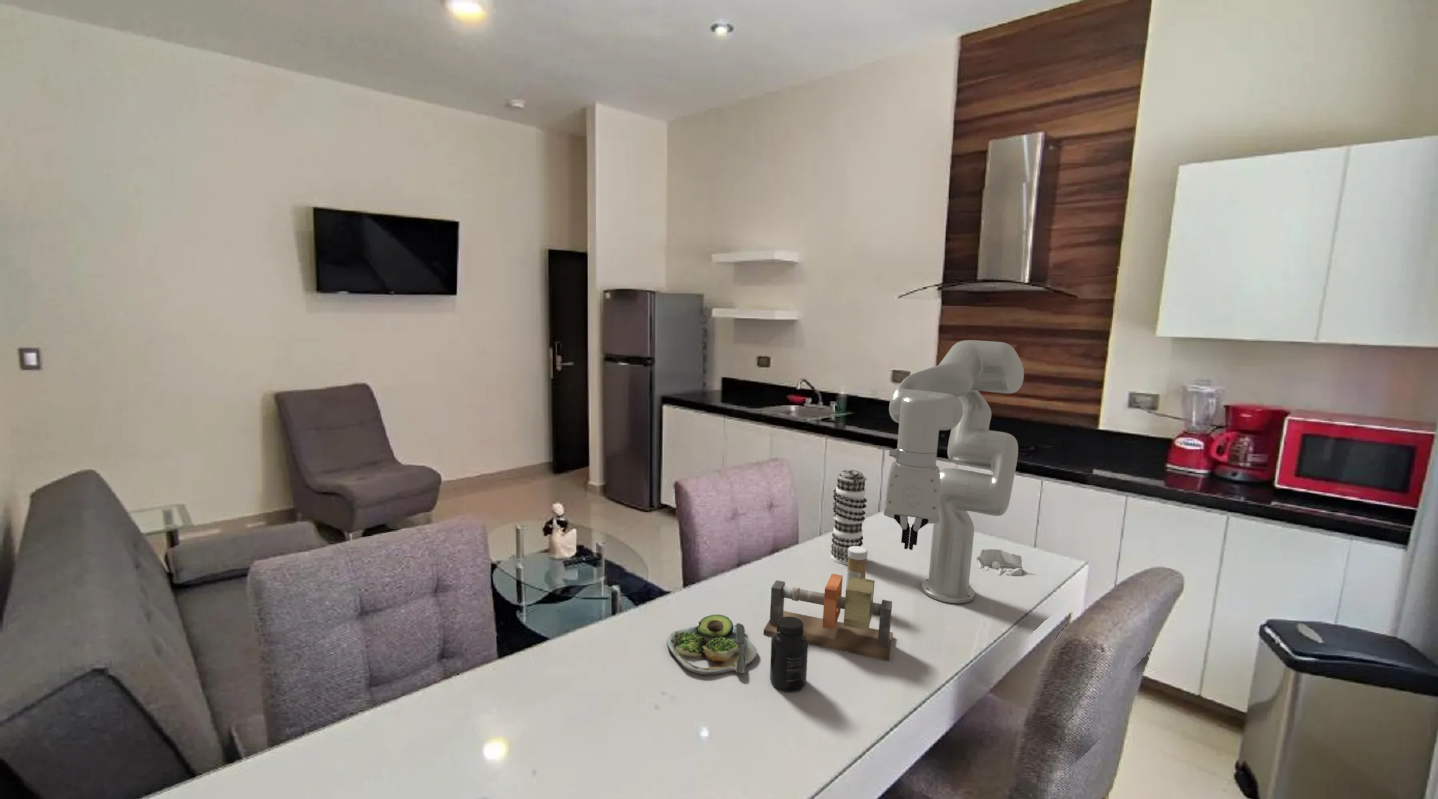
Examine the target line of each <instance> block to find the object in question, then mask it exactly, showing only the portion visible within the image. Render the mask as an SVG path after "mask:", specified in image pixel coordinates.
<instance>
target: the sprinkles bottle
mask: <svg viewBox="0 0 1438 799" xmlns="http://www.w3.org/2000/svg"><path fill="white" fill-rule="evenodd" d="M868 555H869V554H868V549H867V548H865V547H863V546H861V547H860V546H851V547H849V548H848V565H847V568H846V581H845V582H846V584H845V589H846V588H847V585H848V582H849V580H850V577H851V576H852V577H858V578H864V579H866V571H867V569H866V568H867V561H868Z"/></svg>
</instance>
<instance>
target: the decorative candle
mask: <svg viewBox="0 0 1438 799" xmlns="http://www.w3.org/2000/svg"><path fill="white" fill-rule="evenodd" d="M836 479H837V481H836V486H835V489H834V490H833V496H832V498H833V500H834V502H833V503H832V504H833V507H832V510H833V513H834V514H833V519H834V526H833V532H832V534H831V535H832V538H831V545H830V548H831V550H830V559H831V560H832V561H833V562H836V563H837V564H841V565H846V566H848V548H849V547H851V546H860V547H862V545H863V544H864V542H863V540H864V536H863V523H864V521H865V520H866V518H865V516H864V515H866V512H865V510H864V509H866V508H867V505H866V504H865V503H867V501H868V499H867V498H866V497H864V496H865V495H866V489H865V486H866V480H867V477H865V476H864V474H863V473H862V472H861V471H859V470H855V469H854V470H853V469H846V470H842V471H841V472H840V473H839V474H837V475H836ZM867 481H868V480H867Z"/></svg>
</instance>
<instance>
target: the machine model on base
mask: <svg viewBox="0 0 1438 799" xmlns="http://www.w3.org/2000/svg"><path fill="white" fill-rule="evenodd" d="M770 590H771V591H770V608H769V614H770V615H769V621H768V622H767V623H766V625H765V627H764V629H763V635H766V636H771V637H772V636H773V635H774V634H775V633H776V632H777V622H778V619H780V618H782V617H787V616H788V617H796V618H798V619H800V620H801V621H802V622H803V634H804V635H805V636H806V638H807V640H808V645H812V646H818V647H821V648H822V647H823V648H826V649H831V650H837V651H839V652H840V651H841V652H846V653H848V654H849V653H850V654H854V655H860V656H864V657H869V658H875V659H878V660H882V661H888V662H889V659H890V655H891V654H890V653H891V648H892V642H893V635H894V633H893V632H892V631H891V620H892V608H893V600H886V599H882V600H881V603H877V602H874V601H873V602H871V607H870V614H872V616H873V615H874V616H878V617H879V622H878V629H876V628H872V627H869V629H868V631H867V630H862V629H857V628H852V627H847V626H843V625H844V622H840V621H837V623H836V626H835V628H834V630H832V629H827V628H822V627H823V617H822V618H821V617H817V616H810V615H807V614H806V615H805V614H800V613H796V612H790V611H787V610H786V611H785V610H784V606H785V599H789V600H791V601H794V602H799V601H800V602H805V603H810V604H816V605H820V606H824V594H825V592H818V591H812V590H809V589H808V590H807V589H802V588H800V587H797V586H793V587H791V586H786V581H782V580H775V581H774V583H773V584H772V586H771V589H770ZM837 608H841V609H843V610H845V596H842V595H841V596H838V597H837ZM841 609H840V610H841Z"/></svg>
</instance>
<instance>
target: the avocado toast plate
mask: <svg viewBox="0 0 1438 799" xmlns="http://www.w3.org/2000/svg"><path fill="white" fill-rule="evenodd" d="M745 632H746V629H745V626H744V624H742V623H740V622H737V623H736V624H735V625H734V624H733V621H732V620H731V619H730V618H729V617H728V616H726V615H724V614H710V615H708V616H703V618H701V620H700V621H698V625H697V626H693V627H692V626H691V627H686V628H682V629H677V630H675V631H673V632H671V633H670V634H669V635H668V637H667V639H666V646H667V649H668V652H669V653H670V654H671V655H672V656H674V657H675V659H676V661H678V663H680V664H681V665H682V666H683V667H684V668H685V669H687V670H688V671H690V672H692V673H694V674H695V673H696V674H699V675H702V676H704V675H705V676H718V675H723V674H726V673H731V672H736V673H737V674H739V675H740V674H741V675H742V674H746V667H747V665H749V664H750V663H752V662H753V661H754V660H755V658H756V656H757V655H758V650H757V647H756V646H755V645H754V643H753V642H751V640H749V638H747V636H746V635H745ZM685 657H686V658H700V659H701V658H702V659H704V660H707V661H709V662H708V663H710V664H712V665H711V666H709V667H700V666H697V665H694V664H692V663H691V662H689V661H688V660H687V659H686V658H685Z"/></svg>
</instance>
